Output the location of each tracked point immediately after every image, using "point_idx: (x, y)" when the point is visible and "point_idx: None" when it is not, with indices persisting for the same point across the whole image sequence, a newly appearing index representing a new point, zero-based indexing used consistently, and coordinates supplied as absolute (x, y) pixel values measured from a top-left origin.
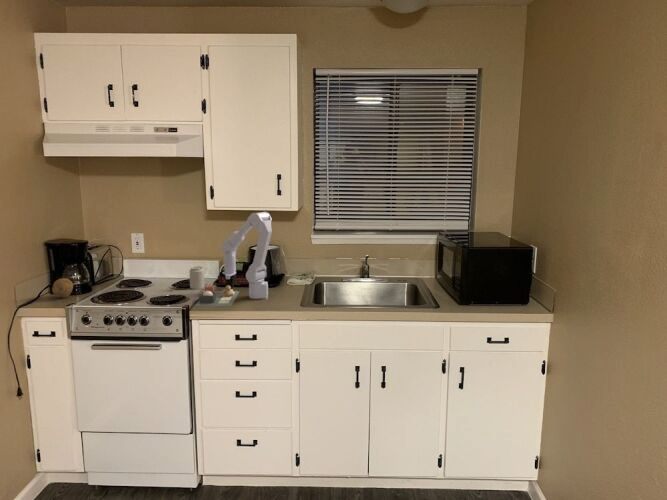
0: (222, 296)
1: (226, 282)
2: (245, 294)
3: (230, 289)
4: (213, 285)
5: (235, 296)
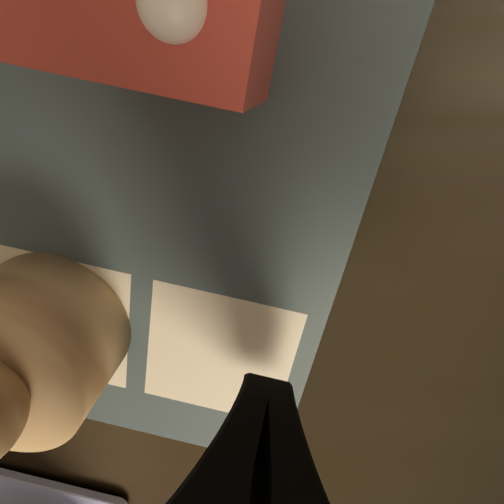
0: (8, 241)
1: (177, 493)
2: None
3: (30, 423)
4: (208, 81)
5: None
